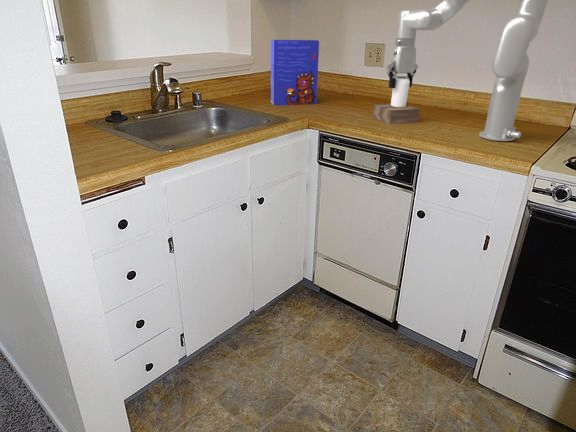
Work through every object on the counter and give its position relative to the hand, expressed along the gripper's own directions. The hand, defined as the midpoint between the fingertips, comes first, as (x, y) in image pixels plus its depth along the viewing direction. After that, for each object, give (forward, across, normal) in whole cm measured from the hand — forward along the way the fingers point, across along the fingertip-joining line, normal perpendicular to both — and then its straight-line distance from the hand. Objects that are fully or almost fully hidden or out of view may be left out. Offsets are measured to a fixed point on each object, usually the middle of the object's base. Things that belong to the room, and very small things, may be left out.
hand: (400, 87), depth 183 cm
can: (+8, 0, 0) cm, 8 cm away
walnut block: (+14, 0, 0) cm, 14 cm away
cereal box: (+14, -20, +50) cm, 56 cm away
